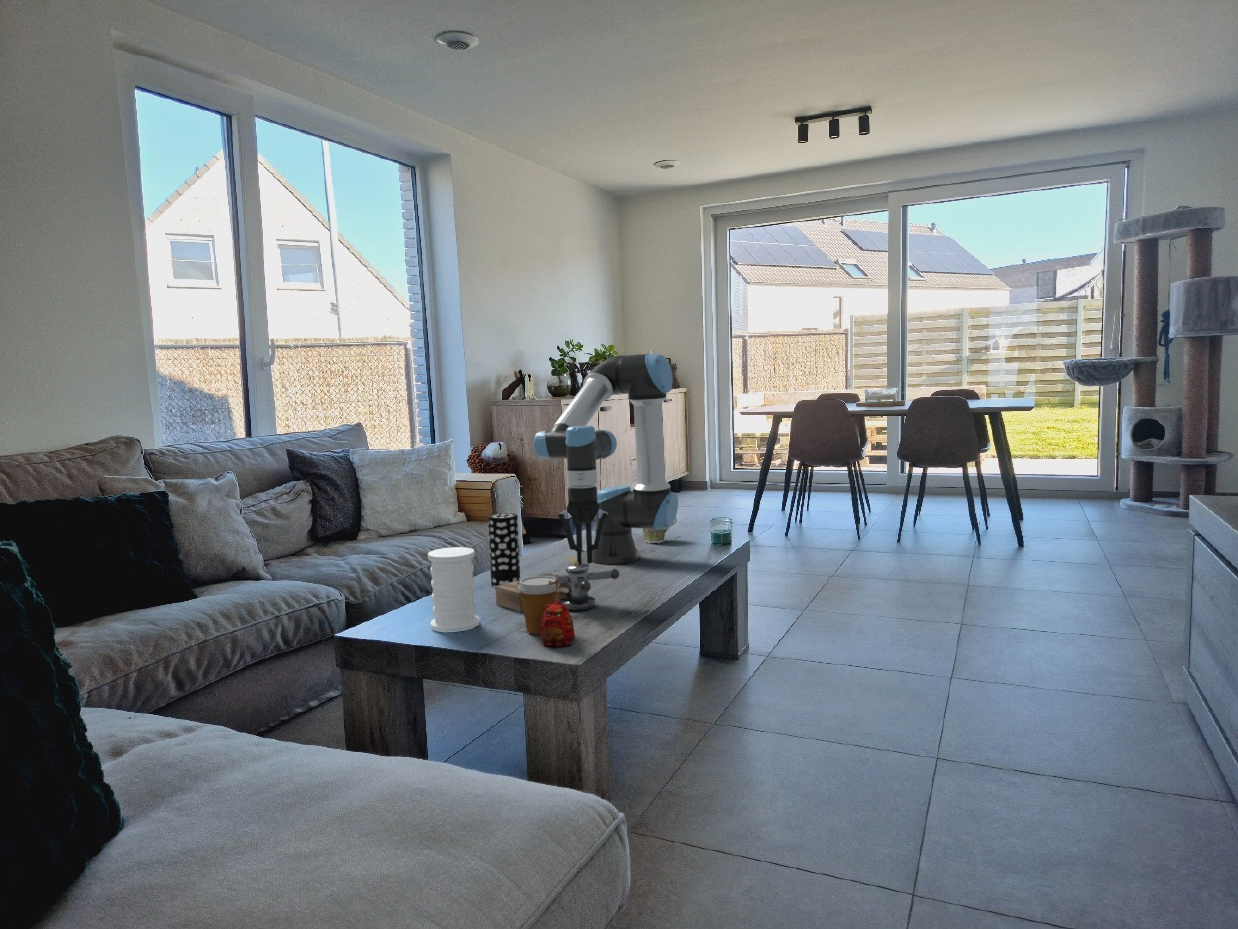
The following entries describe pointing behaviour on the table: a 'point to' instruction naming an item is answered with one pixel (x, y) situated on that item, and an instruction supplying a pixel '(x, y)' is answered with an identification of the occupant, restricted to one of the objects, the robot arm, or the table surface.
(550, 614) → the red clay folk toy
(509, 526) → the spotted tube
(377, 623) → the table surface
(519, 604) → the walnut stand
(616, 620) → the table surface
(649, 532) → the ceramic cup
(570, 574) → the capstan
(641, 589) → the table surface
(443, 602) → the decorative container
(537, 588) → the disposable coffee cup
